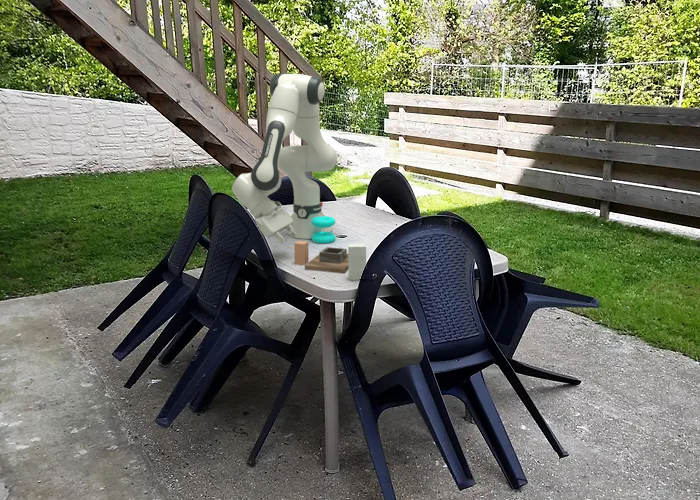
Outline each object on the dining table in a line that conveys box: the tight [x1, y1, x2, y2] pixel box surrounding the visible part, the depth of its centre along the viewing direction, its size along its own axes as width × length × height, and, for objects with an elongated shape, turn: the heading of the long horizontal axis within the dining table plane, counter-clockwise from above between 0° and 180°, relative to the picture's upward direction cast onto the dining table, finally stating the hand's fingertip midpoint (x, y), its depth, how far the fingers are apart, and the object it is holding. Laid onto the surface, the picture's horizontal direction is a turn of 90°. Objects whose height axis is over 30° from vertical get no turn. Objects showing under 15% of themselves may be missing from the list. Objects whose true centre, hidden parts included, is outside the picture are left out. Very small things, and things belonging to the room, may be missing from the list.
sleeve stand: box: [304, 246, 349, 274], centre depth 238 cm, size 20×15×5 cm
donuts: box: [311, 215, 336, 244], centre depth 269 cm, size 10×10×10 cm
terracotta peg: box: [293, 240, 310, 266], centre depth 238 cm, size 4×4×8 cm
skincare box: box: [347, 243, 367, 281], centre depth 220 cm, size 6×4×12 cm
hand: (289, 239), depth 238 cm, fingers open, 8 cm apart
